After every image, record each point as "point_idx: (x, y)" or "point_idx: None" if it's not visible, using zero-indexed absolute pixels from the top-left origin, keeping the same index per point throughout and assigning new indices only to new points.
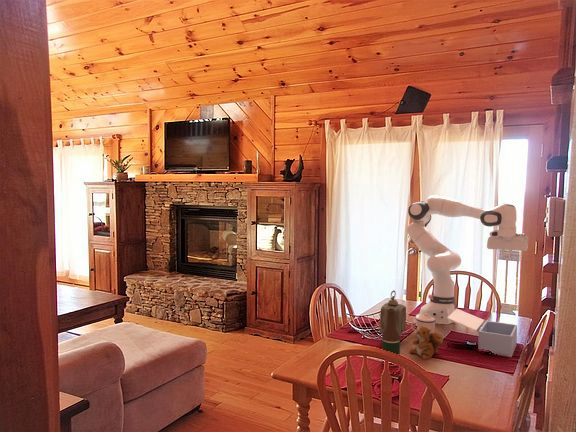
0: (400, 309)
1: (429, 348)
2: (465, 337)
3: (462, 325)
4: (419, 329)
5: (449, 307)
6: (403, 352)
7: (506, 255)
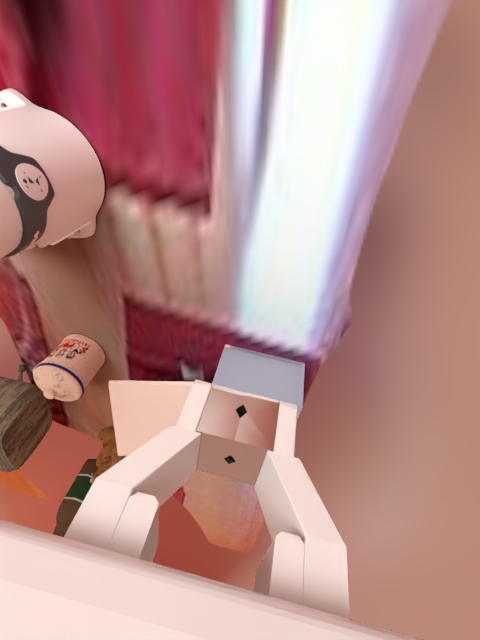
0: (11, 465)
1: None
2: (173, 341)
3: None
4: None
5: (51, 236)
6: (92, 432)
7: (225, 468)
